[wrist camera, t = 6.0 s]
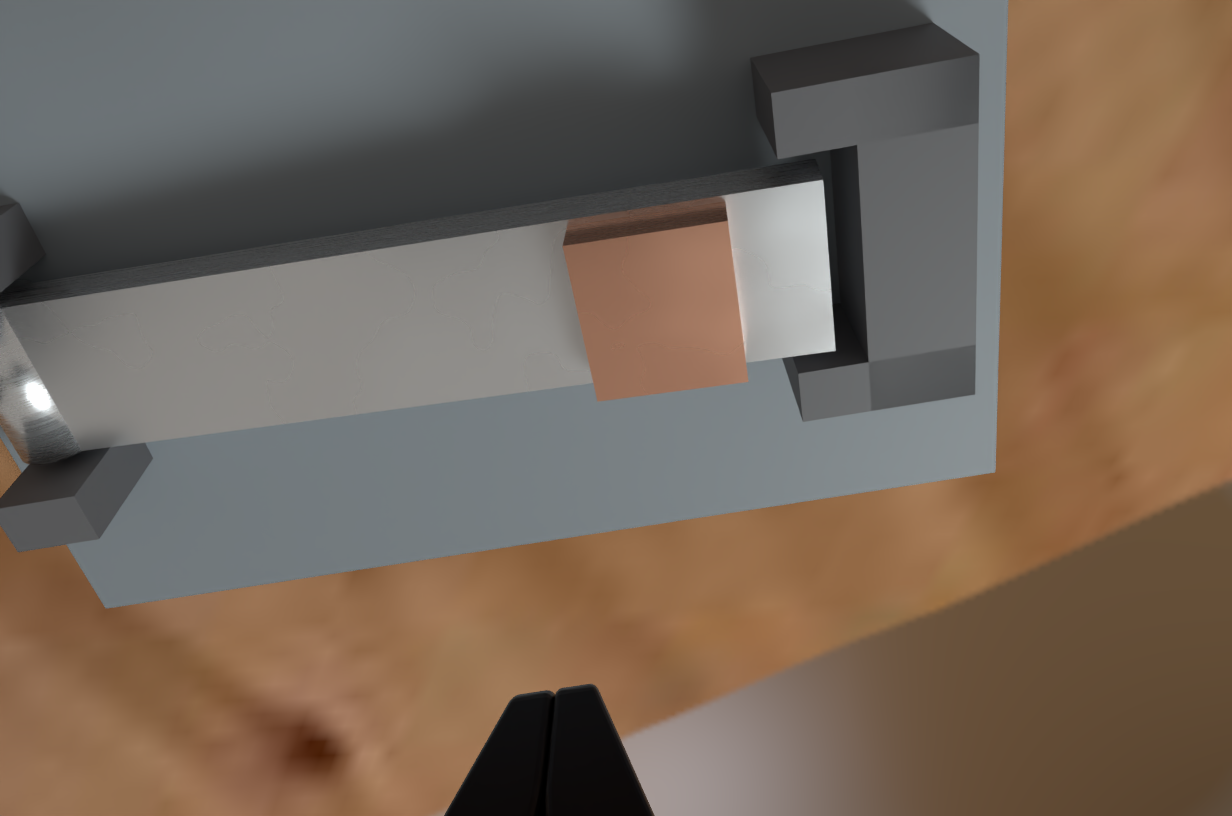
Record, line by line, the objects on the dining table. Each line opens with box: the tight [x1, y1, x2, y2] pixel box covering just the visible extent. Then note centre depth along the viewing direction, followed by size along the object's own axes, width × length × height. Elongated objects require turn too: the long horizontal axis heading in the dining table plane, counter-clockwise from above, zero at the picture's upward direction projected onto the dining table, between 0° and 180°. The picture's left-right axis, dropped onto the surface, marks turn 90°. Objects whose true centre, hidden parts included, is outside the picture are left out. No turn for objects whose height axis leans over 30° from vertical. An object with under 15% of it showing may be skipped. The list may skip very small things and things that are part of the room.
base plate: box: [0, 0, 1008, 608], centre depth 18 cm, size 20×13×4 cm, turn 100°
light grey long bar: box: [0, 158, 836, 465], centre depth 17 cm, size 15×3×2 cm, turn 100°
